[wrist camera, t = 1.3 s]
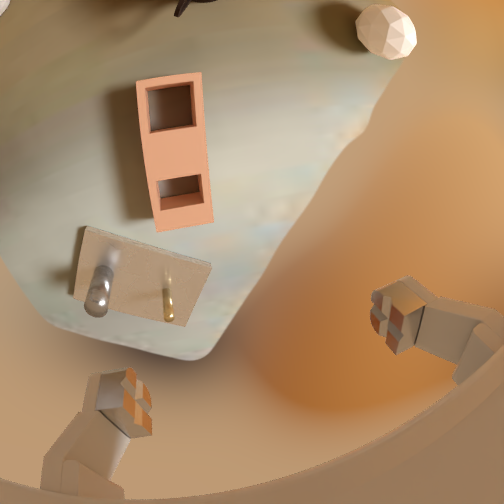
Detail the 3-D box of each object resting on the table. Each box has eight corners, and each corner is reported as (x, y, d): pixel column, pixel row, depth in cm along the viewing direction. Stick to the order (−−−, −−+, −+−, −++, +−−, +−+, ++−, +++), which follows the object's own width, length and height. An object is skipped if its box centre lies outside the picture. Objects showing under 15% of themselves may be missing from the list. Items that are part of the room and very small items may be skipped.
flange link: (139, 85, 23) (135, 81, 20) (196, 77, 24) (201, 72, 21) (157, 217, 30) (156, 232, 27) (207, 209, 32) (213, 222, 28)
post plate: (75, 292, 31) (62, 331, 25) (87, 225, 28) (70, 257, 22) (184, 320, 38) (191, 360, 32) (210, 263, 35) (222, 299, 29)
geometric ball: (366, 45, 29) (412, 73, 26) (334, 36, 25) (387, 66, 22) (384, 5, 23) (434, 31, 20) (353, -12, 19) (412, 13, 16)
